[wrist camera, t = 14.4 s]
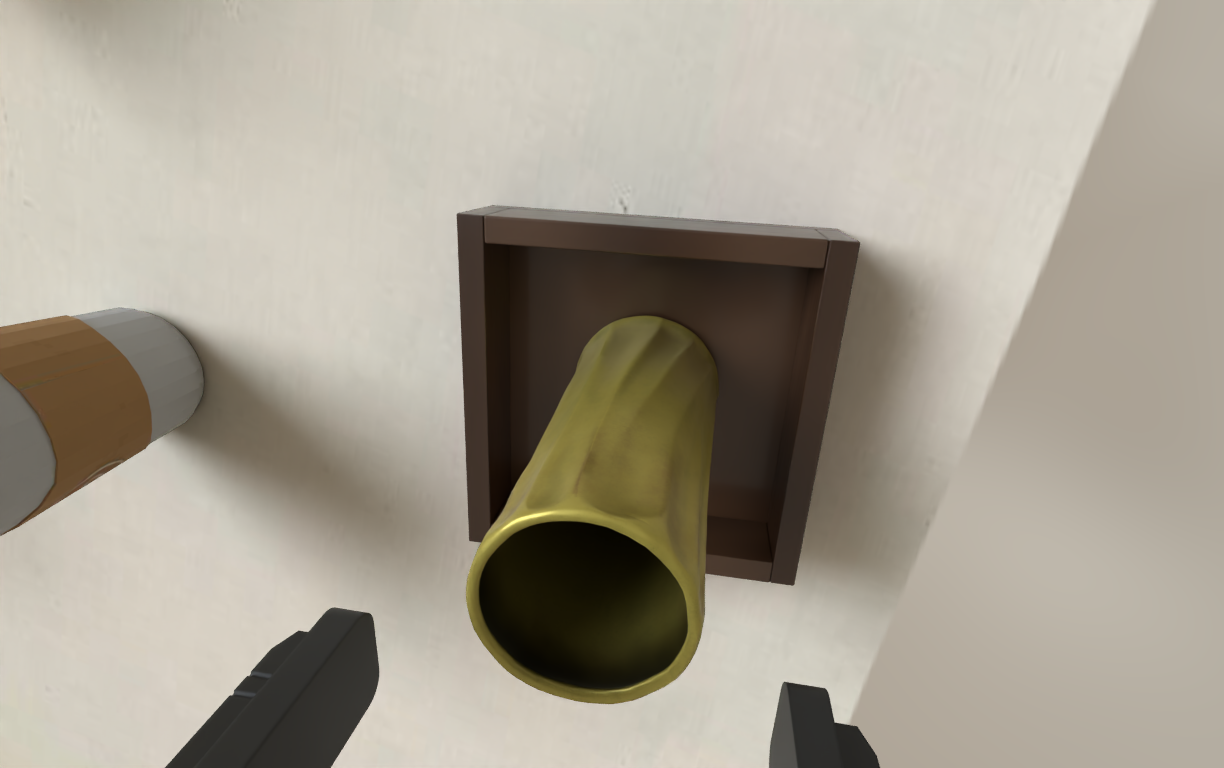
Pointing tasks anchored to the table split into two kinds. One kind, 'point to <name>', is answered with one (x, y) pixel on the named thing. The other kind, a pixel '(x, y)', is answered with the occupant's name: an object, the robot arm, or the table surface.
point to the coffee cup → (85, 401)
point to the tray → (680, 292)
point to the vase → (607, 524)
